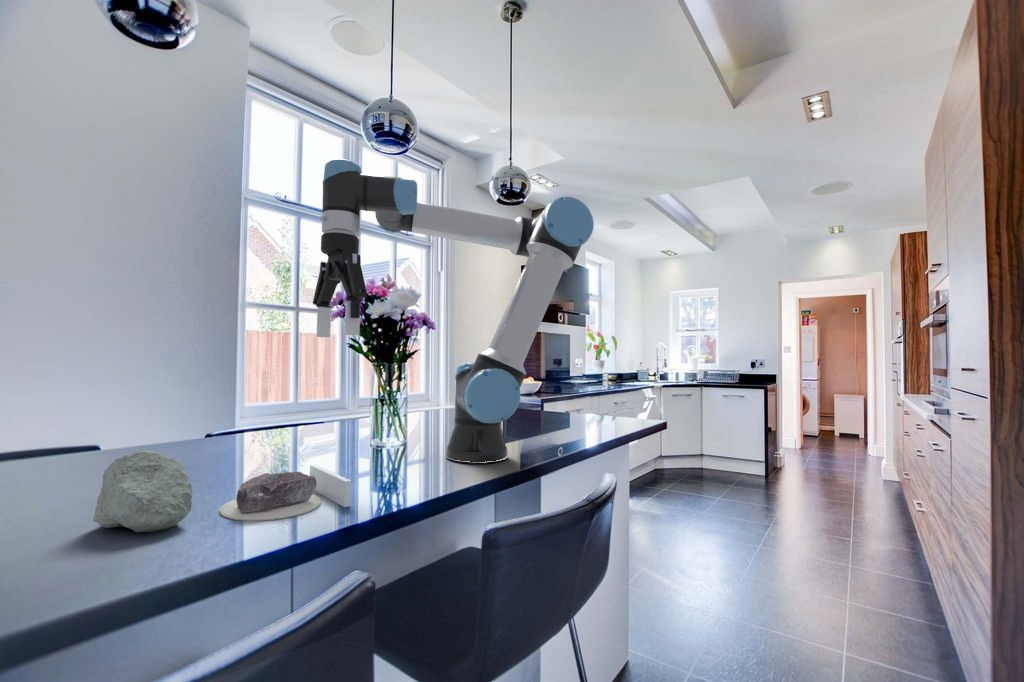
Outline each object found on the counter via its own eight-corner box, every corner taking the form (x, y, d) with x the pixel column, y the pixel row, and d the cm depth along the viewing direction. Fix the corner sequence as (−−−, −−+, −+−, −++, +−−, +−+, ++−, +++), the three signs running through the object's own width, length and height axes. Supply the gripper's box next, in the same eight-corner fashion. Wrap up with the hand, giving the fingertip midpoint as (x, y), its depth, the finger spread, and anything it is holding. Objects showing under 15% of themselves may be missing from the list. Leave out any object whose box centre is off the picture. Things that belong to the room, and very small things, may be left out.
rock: (218, 508, 72) (221, 477, 72) (286, 492, 82) (288, 465, 82) (253, 518, 68) (255, 485, 68) (319, 500, 78) (321, 471, 78)
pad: (302, 490, 85) (302, 487, 85) (334, 509, 74) (334, 506, 74) (210, 503, 75) (210, 501, 75) (232, 527, 65) (233, 524, 65)
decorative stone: (92, 517, 67) (70, 468, 62) (180, 478, 75) (167, 432, 69) (123, 584, 61) (101, 537, 56) (215, 535, 69) (204, 489, 63)
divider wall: (314, 486, 87) (315, 464, 87) (350, 506, 76) (351, 480, 76) (309, 487, 86) (310, 465, 87) (344, 507, 75) (345, 481, 76)
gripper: (299, 242, 108) (295, 336, 106) (350, 219, 90) (347, 332, 89) (332, 248, 113) (328, 338, 112) (386, 227, 95) (383, 335, 94)
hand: (337, 336), depth 100 cm, fingers open, 13 cm apart
